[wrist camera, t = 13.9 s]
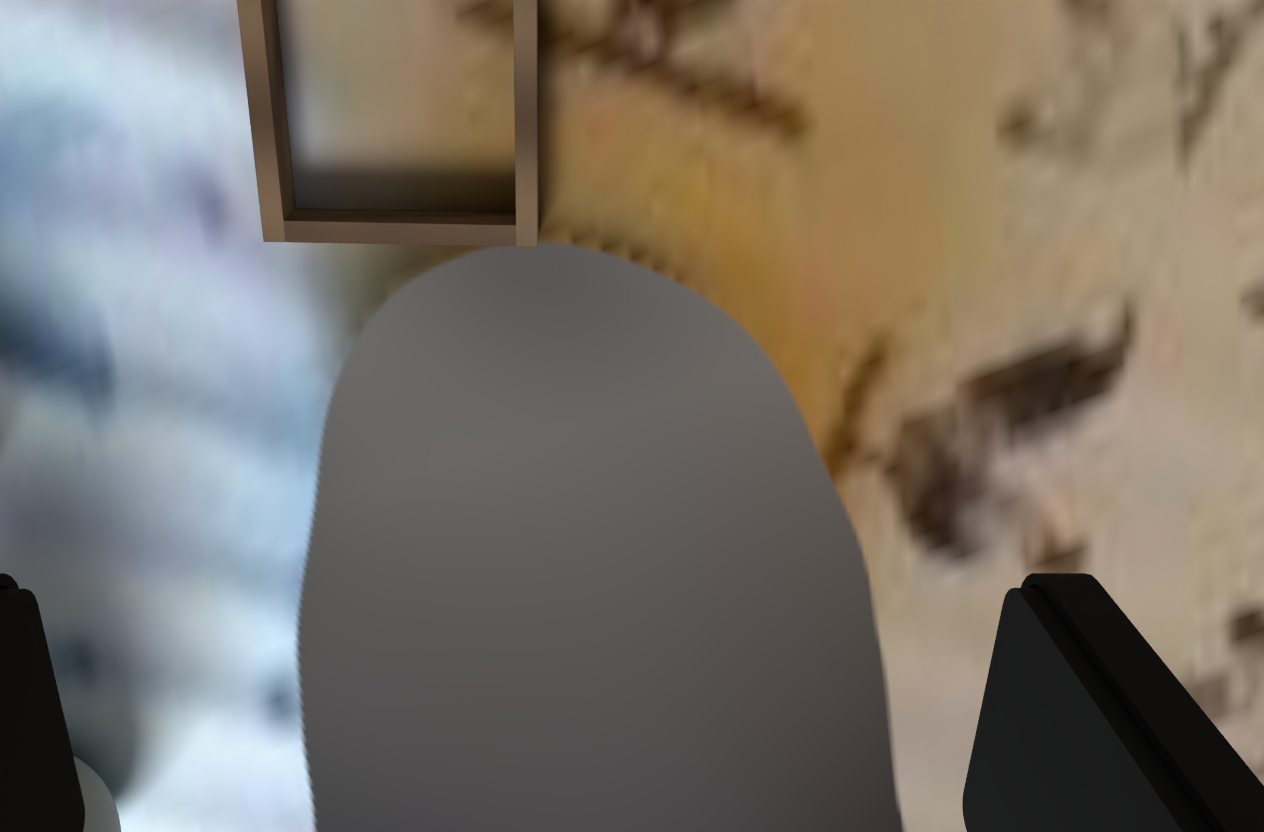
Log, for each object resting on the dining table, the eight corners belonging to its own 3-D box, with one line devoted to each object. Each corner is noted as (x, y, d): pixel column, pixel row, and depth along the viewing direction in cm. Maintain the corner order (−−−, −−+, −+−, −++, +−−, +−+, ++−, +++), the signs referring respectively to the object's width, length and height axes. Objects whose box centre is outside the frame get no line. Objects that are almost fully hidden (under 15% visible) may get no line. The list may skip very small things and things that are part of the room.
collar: (247, -58, 38) (230, -57, 36) (538, -47, 38) (536, -47, 36) (277, 228, 42) (263, 241, 40) (538, 233, 42) (537, 246, 41)
